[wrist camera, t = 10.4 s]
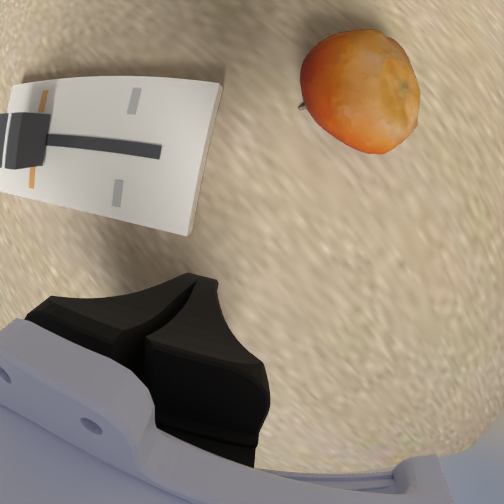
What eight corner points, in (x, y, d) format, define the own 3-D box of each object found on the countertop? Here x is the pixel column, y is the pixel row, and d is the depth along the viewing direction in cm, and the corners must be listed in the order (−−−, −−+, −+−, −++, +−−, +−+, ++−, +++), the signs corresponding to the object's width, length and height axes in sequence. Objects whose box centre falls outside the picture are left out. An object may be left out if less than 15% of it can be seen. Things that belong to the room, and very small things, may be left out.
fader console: (223, 88, 18) (219, 83, 17) (192, 231, 22) (186, 236, 20) (22, 86, 18) (11, 85, 17) (7, 188, 22) (-3, 191, 20)
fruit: (280, 26, 15) (366, -5, 9) (359, 66, 19) (441, 64, 13) (257, 128, 18) (343, 134, 11) (342, 154, 22) (425, 173, 15)
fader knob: (50, 114, 18) (21, 112, 14) (42, 165, 19) (14, 170, 16) (26, 114, 18) (-1, 113, 14) (20, 162, 19) (-8, 166, 16)
